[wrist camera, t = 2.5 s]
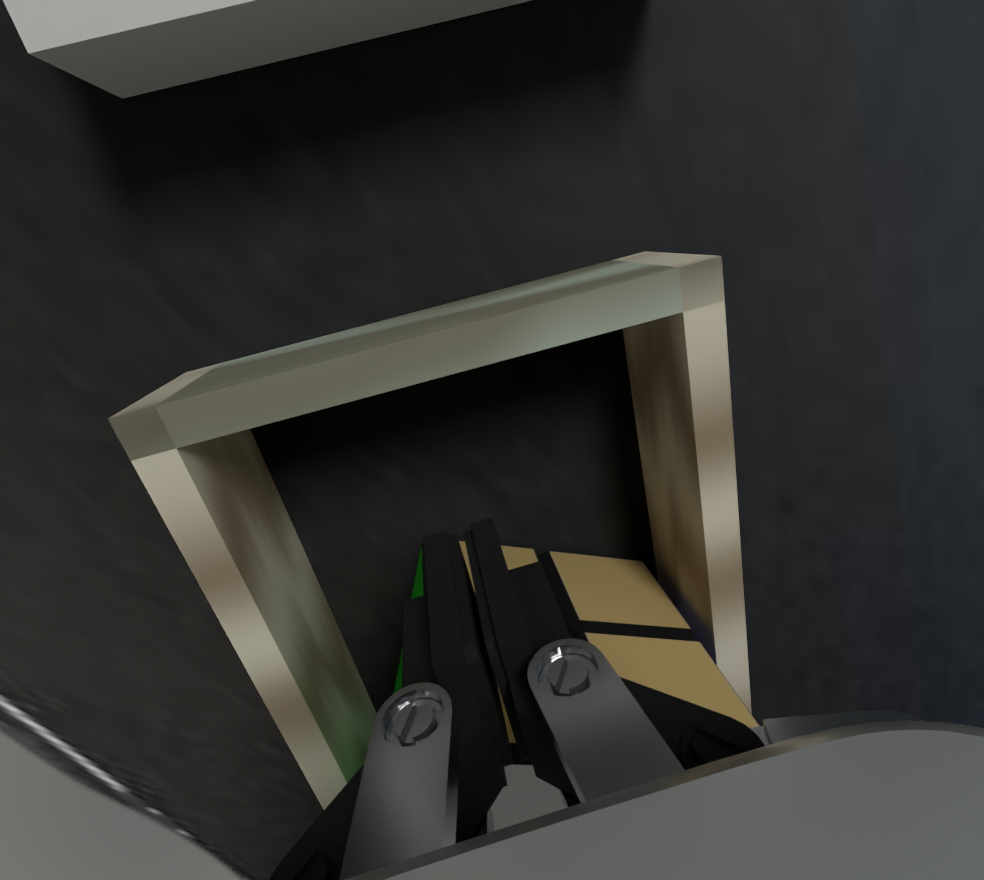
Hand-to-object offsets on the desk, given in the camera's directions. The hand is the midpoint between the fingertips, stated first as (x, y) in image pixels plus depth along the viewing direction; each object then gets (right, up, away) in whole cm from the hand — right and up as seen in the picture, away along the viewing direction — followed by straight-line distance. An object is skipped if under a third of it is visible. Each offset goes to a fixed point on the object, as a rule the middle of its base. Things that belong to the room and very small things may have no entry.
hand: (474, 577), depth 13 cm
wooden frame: (+2, -9, +13) cm, 15 cm away
